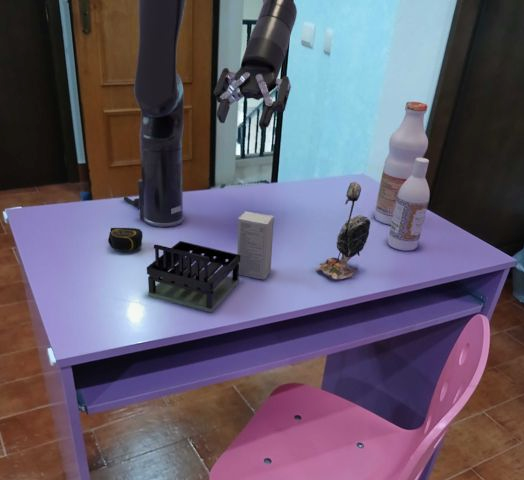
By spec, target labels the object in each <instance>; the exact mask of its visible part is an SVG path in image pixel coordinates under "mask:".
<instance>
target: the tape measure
mask: <svg viewBox="0 0 524 480" xmlns="http://www.w3.org/2000/svg"><path fill="white" fill-rule="evenodd" d="M142 241H143V230H141V229H140V228H135V227H111V228H110V231H109V234H108V238H107V243H108V244H109V246H110V247H111V249H113V250H115V251H120V252H132V251H135V250H139V248H141V247H142V243H143V242H142Z"/></svg>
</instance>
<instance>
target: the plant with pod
mask: <svg viewBox="0 0 524 480" xmlns="http://www.w3.org/2000/svg"><path fill="white" fill-rule="evenodd" d="M361 192H362V186H361V185H360V183H358V182H356V181H353V182H350V183H349V186H348V188H347V190H346V195H345V196H346V198H347V199H346V201H345V205H347V204H348V203H349V202H352V203H351V207H350V211H349V215H348V219H347V220H346V221H345V223H344V224H343V225H342V227H341V228H340V231H339V233H338V234H337V236H336V237H337V239H336V249H337V250H338V251H339V252H338V253H339V254H338V256H337V257H329V258H327V259H326V261H324V262H322V263H319V265H318V266H317V267H316V268H315V270H316V271H322V272H321V273H323V274H324V275H325V276H327V277H328V278H329V279H330V280H335V281H336V280H337V281H338V280H342V279H346V278H352V277H353V276H354V274H355V273H356V272H357V269H359V268H357V267H352V266H349V265H348V262H349V261H350V259H351V258H353V257H355V256H356V255H357V256H360V252H362V250H363V249H364V247H365V245H366V243H367V240H368V237H369V235H370V228H371V227H370V226H371V220H370V219H369V217H368V216H364V215H361V214H359V215H356V216H353V217H352V215H353V210H354V206H355V203H356V202H357V201H358V200H359V198H360V197H361ZM371 219H373V217H371ZM341 255H342V256H341ZM340 256H341V258H340Z"/></svg>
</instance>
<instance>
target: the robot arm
mask: <svg viewBox="0 0 524 480" xmlns="http://www.w3.org/2000/svg"><path fill="white" fill-rule="evenodd" d="M186 1H187V0H137V5H138V6H137V7H138V11H137V12H138V13H137V14H138V33H139V34H138V35H139V37H138V38H139V39H138V51H137V60H136V61H137V62H136V70H135V78H134V82H133V83H134V85H133V94H134V95H133V96H134V99H135V102H136V104H137V106H138V108H139V109H140V116H141V119H140V121H141V122H140V129H139V133H138V134H139V135H138V136H139V139H138V140H139V153H140V154H139V155H140V172H141V173H140V174H141V178H139V179H138V181H137V186H138V189H137V190H138V198H137V197H136V198H134V199H133V200H132V199H131V198H129V197H127V196H124V197H123V201H125V202H127V203H128V204H130V205H132V206H134V207H137V210H139V220H141V221H143V222H144V223H146V224H148V225H150V226H153V227H159V228H168V227H175V226H178V225H180V224H182V223H183V222H184V198H183V197H184V196H183V194H184V193H183V192H184V190H183V188H184V185H183V133H184V85H183V81H182V78H181V77H180V74H179V73H178V72H177V51H178V49H177V48H178V41H179V35H180V32H181V31H180V30H181V26H182V22H183V17H184V12H185V9H186V8H185V7H186ZM297 14H298V9H297V6H296V3H295V1H294V0H262V6H261V9H260V11H259V15H258V17H257V20H256V23H255V25H254V27H253V29H252V31H251V33H250V36H249V39H248V42H247V44H246V48H245V51H244V54H243V56H242V59H241V63H240V66H239V69H238V70H237V71H236V72H234V71H230V70H229V68H228V67H224V68H223V69H222V71H221V73H220V76H219V78H218V80H217V83H216V85H215V88H214V90H213V95H214V97H215V99H216V101H217V103H219V104H218V108H217V111H216V116H217V119H218V121H219V123H220V124H225V123H226V120H227V116H228V115H229V114H228V113H229V111H230V106H231V105H232V104H234V103H236V102H239V101H240V100H241V99H243V98H244V99H253V100H256V101H260V100H261V99H263V101H264V104H265V105H266V106H265V105H264V106H263V110H262V112H261V115H260V118H259V121H258V126H259V129H260V130H262V131H265V130H266V128H269V126H270V124H271V121H272V118H273V115H274V113H276V112H280V113H284V112H285V111H286V108H287V103H288V99H289V95H290V92H291V88H292V86H291V82H290V78H289V76H287V75H285V76H283V77H282V78H278V77H279V74H280V71H281V68H282V66H283V63H284V60H285V57H286V55H287V52H288V47H289V43H290V38H291V35H292V31H293V29H294V26H295V23H296V20H297ZM276 88H278V94H277V98H276V100H274V101H273V99H272V97H271V95H270V93H271V92H272V91H274V90H275V89H276ZM238 90H239V91H238ZM237 91H238V92H237Z"/></svg>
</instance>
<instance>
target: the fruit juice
mask: <svg viewBox="0 0 524 480" xmlns="http://www.w3.org/2000/svg"><path fill="white" fill-rule="evenodd" d="M404 111H405V114H404V117H403V119H402V122H401V124H400V125H399V126H398V128H397V129H395V130H394V131H393V133H392V134H391V135H390V138H389V141H388V154H387V157H386V158H385V159H384V160H385V161H384V164H383V168H382V173H381V178H380V183H379V188H378V192H377V199H376V202H375V203H376V204H375V209H374V218H375V220H376V221H378V222H379V223H381V224H384V225H389V226H391V223H392V219H393V214H394V210H395V205H396V201H397V196H398V193H399V190H400V188H401V186H402V185H403V184H404V182H405V181H406V180H407V179H408V178H409V177H410V176H411V175H412V172H413V167H414V163H415V159H416V158H424V157H425V154H426V153H427V151H428V147H429V139H428V136H427V134H426V131H425V125H424V119H425V118H424V117H425V114H426V113H427V111H428V105H427V104H426V103H425V102H420V101H407V102H406V104H405V107H404Z"/></svg>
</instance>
